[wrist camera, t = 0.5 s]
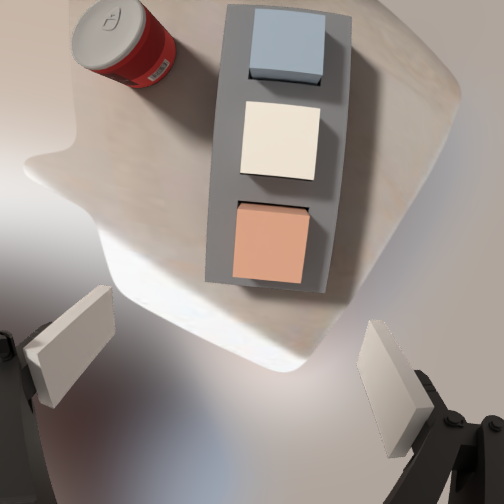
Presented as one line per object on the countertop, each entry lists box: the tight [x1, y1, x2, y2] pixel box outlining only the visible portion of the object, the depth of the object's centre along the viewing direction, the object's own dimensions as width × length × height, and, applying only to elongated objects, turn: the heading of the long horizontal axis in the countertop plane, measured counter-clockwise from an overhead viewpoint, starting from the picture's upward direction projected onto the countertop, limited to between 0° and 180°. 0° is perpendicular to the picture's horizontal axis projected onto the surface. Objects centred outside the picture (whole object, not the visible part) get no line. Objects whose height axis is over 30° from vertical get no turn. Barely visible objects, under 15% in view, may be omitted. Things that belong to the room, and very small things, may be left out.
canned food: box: [71, 0, 176, 88], centre depth 26 cm, size 8×8×11 cm
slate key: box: [249, 8, 325, 86], centre depth 24 cm, size 6×6×5 cm
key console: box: [205, 4, 352, 293], centre depth 30 cm, size 28×12×6 cm, turn 175°
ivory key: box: [240, 101, 320, 180], centre depth 27 cm, size 6×6×5 cm
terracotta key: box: [233, 201, 310, 283], centre depth 30 cm, size 6×6×5 cm
